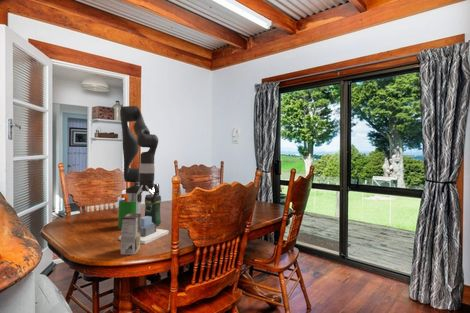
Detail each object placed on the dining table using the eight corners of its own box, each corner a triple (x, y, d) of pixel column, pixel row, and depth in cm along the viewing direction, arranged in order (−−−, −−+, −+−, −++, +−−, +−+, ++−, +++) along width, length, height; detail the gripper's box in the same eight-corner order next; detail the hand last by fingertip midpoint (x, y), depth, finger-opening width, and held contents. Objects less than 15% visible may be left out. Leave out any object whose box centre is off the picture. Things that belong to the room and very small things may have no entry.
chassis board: (144, 229, 156) (144, 220, 156) (168, 233, 151) (168, 223, 151) (118, 239, 137) (119, 228, 137) (145, 244, 132) (145, 232, 132)
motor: (138, 226, 162) (139, 193, 162) (128, 230, 154) (129, 195, 153) (124, 224, 165) (125, 191, 165) (113, 228, 157) (114, 193, 157)
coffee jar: (162, 224, 169) (163, 194, 169) (153, 227, 162) (154, 196, 162) (151, 222, 173) (151, 192, 173) (141, 224, 166) (142, 194, 166)
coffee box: (126, 247, 127) (127, 212, 127) (140, 247, 127) (141, 213, 127) (119, 254, 118) (120, 217, 118) (135, 254, 118) (136, 217, 118)
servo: (148, 230, 149) (148, 215, 149) (153, 231, 148) (154, 215, 148) (135, 235, 140) (136, 219, 140) (141, 236, 139) (141, 219, 139)
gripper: (162, 172, 145) (161, 202, 145) (140, 170, 150) (139, 200, 150) (154, 173, 138) (153, 205, 138) (131, 171, 143) (130, 202, 143)
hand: (146, 202), depth 144 cm, fingers open, 8 cm apart
